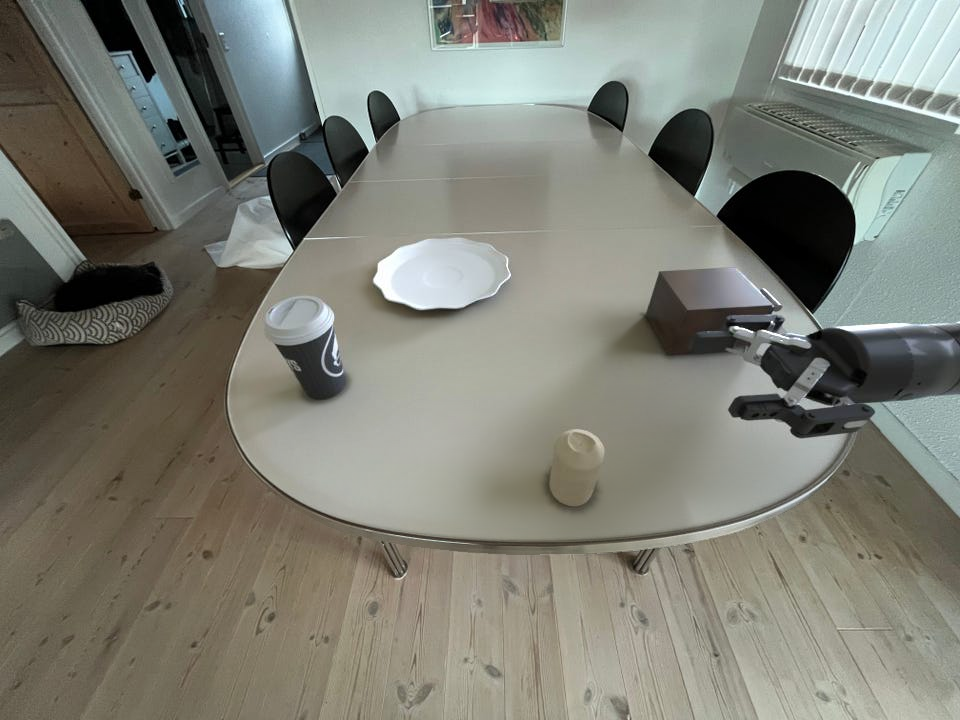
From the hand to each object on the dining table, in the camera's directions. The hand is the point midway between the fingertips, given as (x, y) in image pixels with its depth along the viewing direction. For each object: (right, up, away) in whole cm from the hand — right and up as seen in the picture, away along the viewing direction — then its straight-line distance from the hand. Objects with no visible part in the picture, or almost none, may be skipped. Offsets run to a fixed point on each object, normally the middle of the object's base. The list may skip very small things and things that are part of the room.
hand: (710, 373), depth 39 cm
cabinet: (+17, +6, +35) cm, 39 cm away
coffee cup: (-48, -3, +28) cm, 55 cm away
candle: (-11, -15, +13) cm, 23 cm away
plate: (-30, +19, +51) cm, 62 cm away
